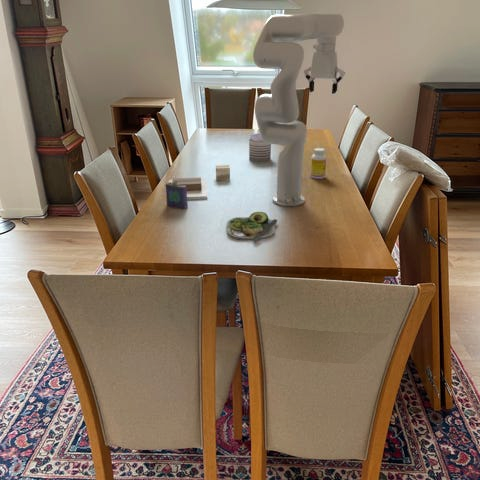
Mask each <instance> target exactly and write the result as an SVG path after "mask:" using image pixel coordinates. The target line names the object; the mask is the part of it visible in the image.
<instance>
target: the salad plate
mask: <svg viewBox="0 0 480 480" xmlns="http://www.w3.org/2000/svg"><path fill="white" fill-rule="evenodd" d="M277 222H278V219H275V218H274V219H271V218H269V216H268V215H267V213H266V212H264V211H255V212H252V213H251V214H250V216H248V217H247V216H246V217H243V216H242V217H240V216H239V217H236V216H235V217H232V218H230V219H228V220H227V221H226V233H227V235H228V236H230V237H232V238H233V239H237V240H240V239H241V241H254V242H257V241H260V240H262V239H266V238H268V237H272V236H273V235H274V234H275V232H276V230H275V225H276V224H277ZM232 230H233V232H232ZM234 231H237V232H238V231H239V232H243V233H244V235H237V234H236V233H234ZM235 234H236V235H235Z"/></svg>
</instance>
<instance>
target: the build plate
mask: <svg viewBox="0 0 480 480" xmlns="http://www.w3.org/2000/svg"><path fill="white" fill-rule="evenodd" d="M172 180H173V179H169V180H168V183H170V182H171V183H172ZM201 185H202V190H201V191H187V201H190V200H191V201H192V200H193V201H194V200H208V191H207V183H206V178H201Z"/></svg>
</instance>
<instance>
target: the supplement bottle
mask: <svg viewBox="0 0 480 480" xmlns="http://www.w3.org/2000/svg"><path fill="white" fill-rule="evenodd" d="M325 152H326V149H325V148H322V147H316V148H314V149H313V154H312V155H311V160H310V175H309V176H310V178H312V179H314V180H321V179H324V178H325V177H326V166H327V156H326V155H325Z"/></svg>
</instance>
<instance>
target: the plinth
mask: <svg viewBox="0 0 480 480" xmlns="http://www.w3.org/2000/svg"><path fill="white" fill-rule="evenodd" d="M201 179H202V177H201V176H199V177H184V178H183V177H179V178H175V177H174V178H172V179H171V180H172V183H174V182H173V181H174V180H175V181H176V180H177V181H178V182H177V185H185V186H186V187H187V191H201V190H202V185H201Z"/></svg>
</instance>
